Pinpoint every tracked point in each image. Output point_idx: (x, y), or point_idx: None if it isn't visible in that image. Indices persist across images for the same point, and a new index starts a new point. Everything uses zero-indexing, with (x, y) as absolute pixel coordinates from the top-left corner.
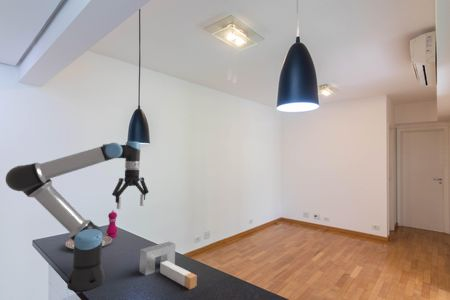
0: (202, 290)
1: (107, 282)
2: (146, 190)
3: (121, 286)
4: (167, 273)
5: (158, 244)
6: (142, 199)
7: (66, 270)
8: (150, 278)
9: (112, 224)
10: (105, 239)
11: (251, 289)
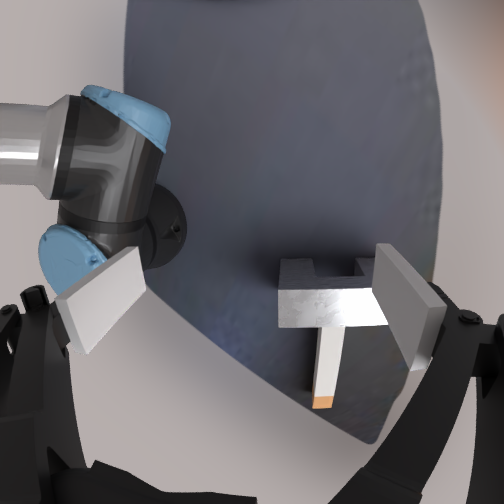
0: None
1: (188, 257)
2: (482, 400)
3: (209, 298)
4: (318, 335)
5: (359, 289)
6: (392, 325)
7: None
8: None
9: None
10: None
11: (375, 433)
